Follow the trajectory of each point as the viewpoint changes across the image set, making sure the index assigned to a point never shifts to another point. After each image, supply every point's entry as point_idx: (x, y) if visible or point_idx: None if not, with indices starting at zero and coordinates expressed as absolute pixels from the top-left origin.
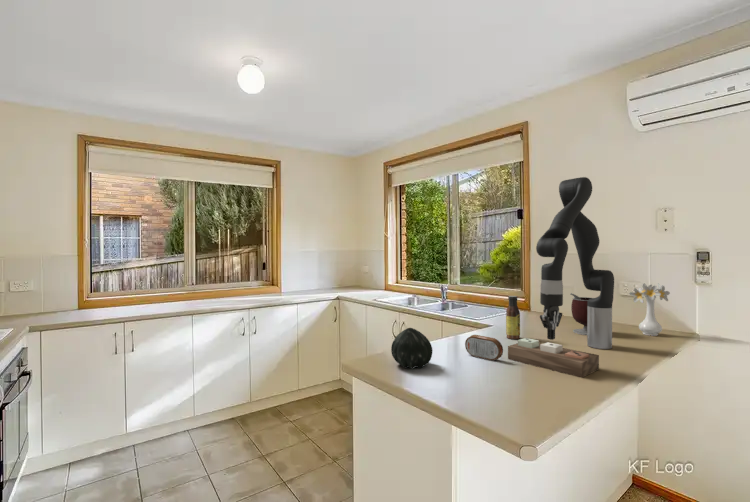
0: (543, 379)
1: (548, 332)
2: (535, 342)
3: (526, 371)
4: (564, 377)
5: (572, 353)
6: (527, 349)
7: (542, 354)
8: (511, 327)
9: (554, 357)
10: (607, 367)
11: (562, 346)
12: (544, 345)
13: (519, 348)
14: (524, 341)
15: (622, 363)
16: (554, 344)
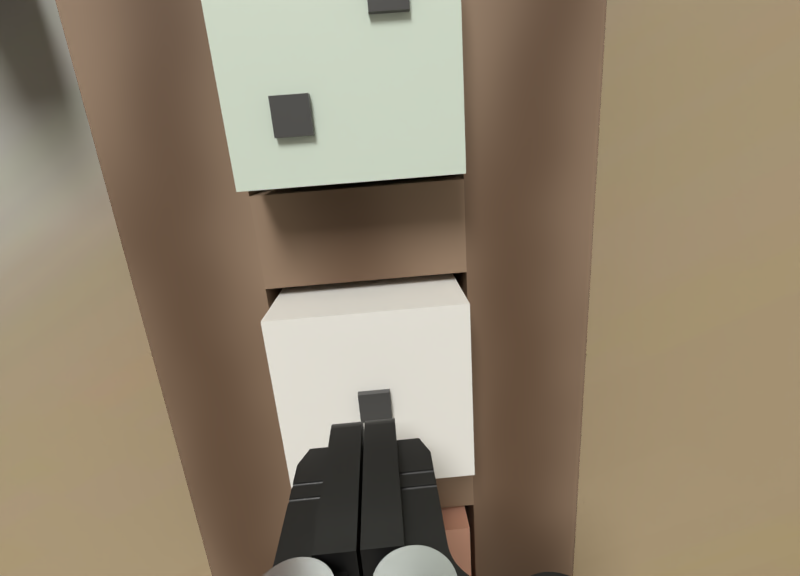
0: (4, 470)
1: (283, 541)
2: (353, 182)
3: (17, 313)
4: (175, 514)
5: None
6: (156, 190)
7: (166, 389)
8: None
9: (194, 493)
10: (612, 547)
11: (467, 465)
12: (274, 371)
13: (93, 93)
14: (214, 60)
15: (776, 554)
16: (430, 409)
